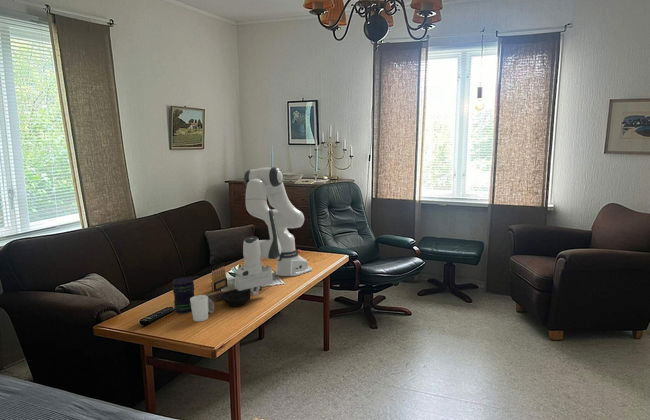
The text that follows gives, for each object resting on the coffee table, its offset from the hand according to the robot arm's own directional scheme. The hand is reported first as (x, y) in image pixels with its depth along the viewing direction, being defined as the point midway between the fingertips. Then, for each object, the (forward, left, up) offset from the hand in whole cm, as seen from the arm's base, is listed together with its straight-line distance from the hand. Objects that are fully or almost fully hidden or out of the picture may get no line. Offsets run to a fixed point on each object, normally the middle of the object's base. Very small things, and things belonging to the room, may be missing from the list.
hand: (255, 295), depth 227 cm
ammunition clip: (+8, -27, -2) cm, 29 cm away
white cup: (+31, +8, -2) cm, 32 cm away
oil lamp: (+9, -1, -2) cm, 9 cm away
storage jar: (+33, -8, -2) cm, 34 cm away
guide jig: (+9, -4, -2) cm, 9 cm away
